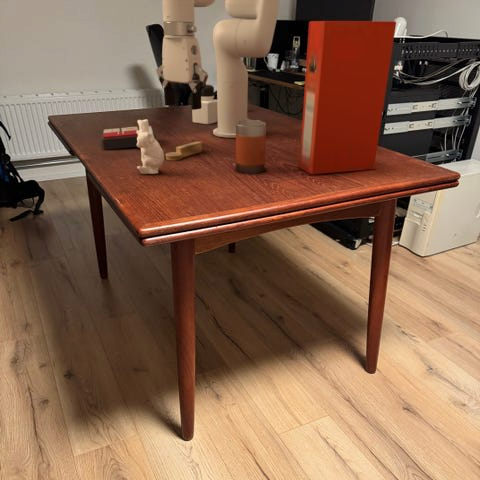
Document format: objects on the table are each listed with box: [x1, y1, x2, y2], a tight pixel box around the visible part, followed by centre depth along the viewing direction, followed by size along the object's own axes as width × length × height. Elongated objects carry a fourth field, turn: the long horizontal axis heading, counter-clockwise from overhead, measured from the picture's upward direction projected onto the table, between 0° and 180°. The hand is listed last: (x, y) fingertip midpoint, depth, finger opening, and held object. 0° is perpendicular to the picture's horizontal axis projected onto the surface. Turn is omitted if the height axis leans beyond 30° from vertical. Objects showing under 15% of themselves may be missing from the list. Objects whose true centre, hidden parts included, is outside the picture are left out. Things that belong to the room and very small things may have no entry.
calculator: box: [101, 125, 157, 151], centre depth 141 cm, size 11×4×15 cm
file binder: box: [298, 20, 397, 176], centre depth 113 cm, size 8×17×32 cm, turn 108°
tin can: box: [235, 119, 267, 175], centre depth 117 cm, size 7×7×11 cm
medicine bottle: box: [191, 84, 218, 125], centre depth 168 cm, size 7×7×12 cm
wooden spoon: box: [165, 141, 203, 162], centre depth 131 cm, size 12×4×3 cm, turn 141°
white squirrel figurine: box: [136, 119, 165, 175], centre depth 115 cm, size 8×7×12 cm
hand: (183, 107), depth 125 cm, fingers open, 9 cm apart
